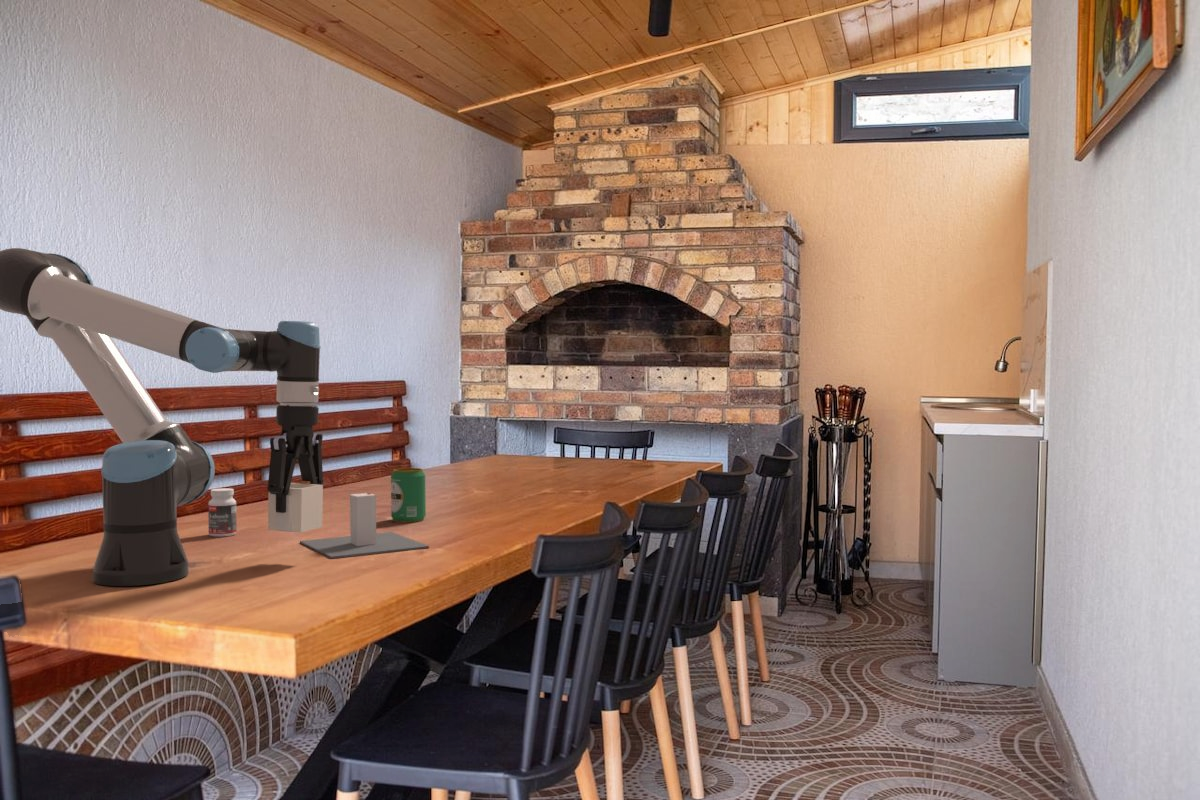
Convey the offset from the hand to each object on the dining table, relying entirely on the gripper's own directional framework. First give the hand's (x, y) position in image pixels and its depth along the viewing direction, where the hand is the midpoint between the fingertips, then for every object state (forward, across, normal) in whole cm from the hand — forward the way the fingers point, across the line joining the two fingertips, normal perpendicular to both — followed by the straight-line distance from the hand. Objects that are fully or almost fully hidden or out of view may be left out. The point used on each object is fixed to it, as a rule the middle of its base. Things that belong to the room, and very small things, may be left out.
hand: (295, 526), depth 189 cm
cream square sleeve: (0, 0, 0) cm, 0 cm away
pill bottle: (+8, +22, +32) cm, 40 cm away
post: (+6, +19, -4) cm, 20 cm away
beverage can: (+7, +51, +3) cm, 52 cm away
